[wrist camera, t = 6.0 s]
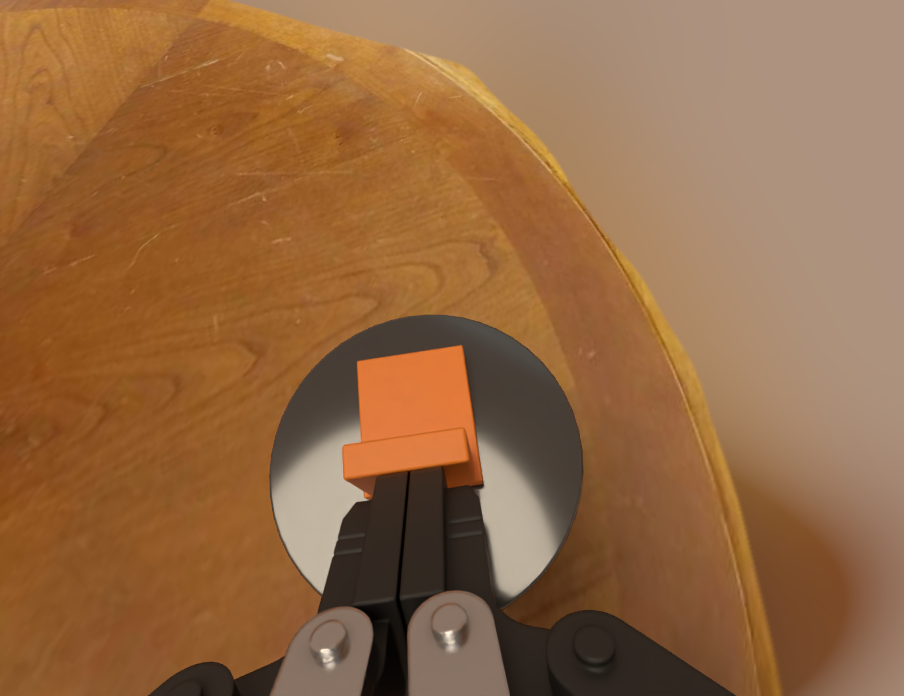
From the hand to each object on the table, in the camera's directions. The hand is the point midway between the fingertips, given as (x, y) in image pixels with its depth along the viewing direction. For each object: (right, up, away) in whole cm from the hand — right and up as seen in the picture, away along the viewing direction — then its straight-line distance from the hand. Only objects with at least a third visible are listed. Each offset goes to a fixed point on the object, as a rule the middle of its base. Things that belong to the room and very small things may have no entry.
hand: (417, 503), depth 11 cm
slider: (0, +1, +3) cm, 3 cm away
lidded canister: (+1, -4, +14) cm, 14 cm away
